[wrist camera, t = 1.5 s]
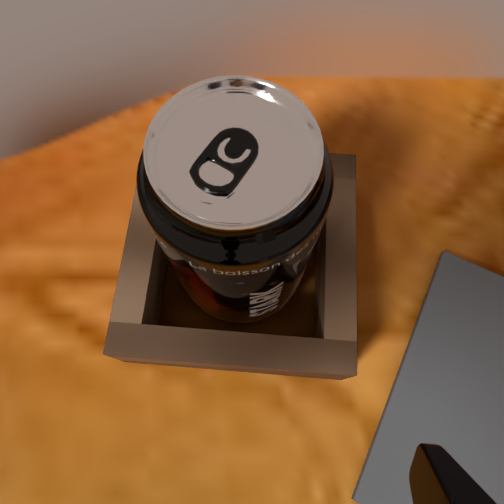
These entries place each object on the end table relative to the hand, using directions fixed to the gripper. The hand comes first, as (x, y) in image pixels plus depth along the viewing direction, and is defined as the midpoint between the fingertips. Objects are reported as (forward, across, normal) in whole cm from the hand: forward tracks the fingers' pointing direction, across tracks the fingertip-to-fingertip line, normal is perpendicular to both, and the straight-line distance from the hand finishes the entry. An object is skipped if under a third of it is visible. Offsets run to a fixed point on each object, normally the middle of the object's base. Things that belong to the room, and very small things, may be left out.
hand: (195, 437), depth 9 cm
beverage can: (+16, 0, +4) cm, 16 cm away
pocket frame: (+15, 0, +4) cm, 16 cm away
